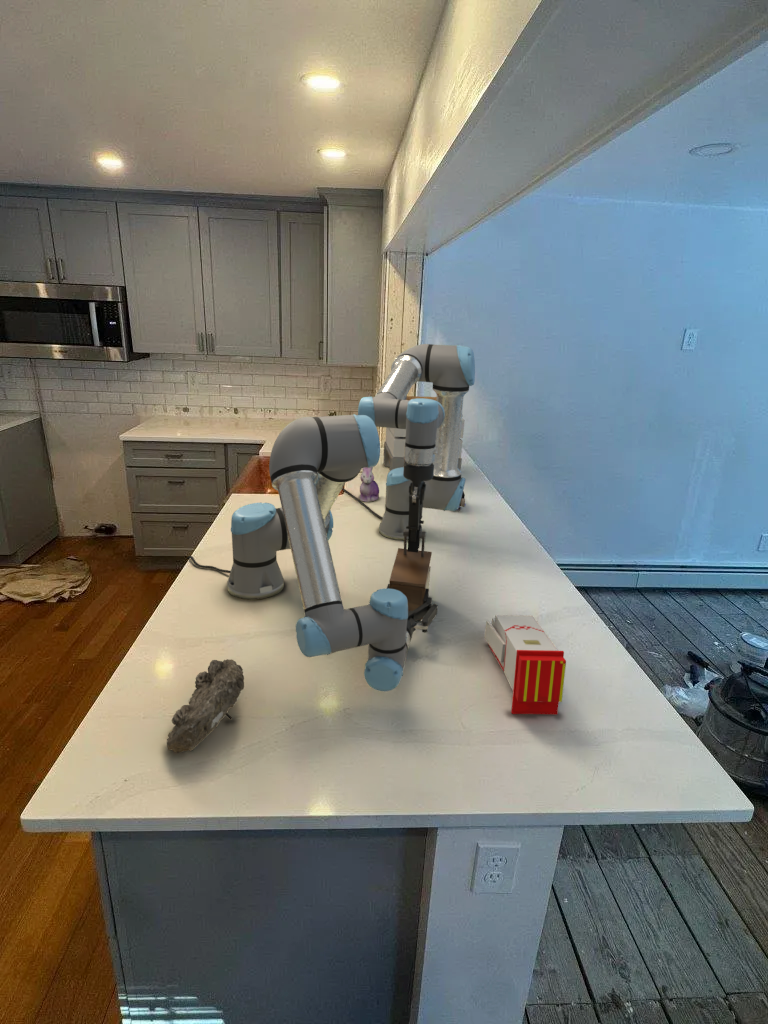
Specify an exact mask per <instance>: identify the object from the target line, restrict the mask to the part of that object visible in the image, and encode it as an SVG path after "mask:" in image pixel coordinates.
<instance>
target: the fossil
mask: <svg viewBox="0 0 768 1024" xmlns="http://www.w3.org/2000/svg"><path fill="white" fill-rule="evenodd" d="M243 670H244V669H243V667H242V665H240V664H237V662H236V661H235V660H234V659H232V658H231V659H227V658H226V659H224V660H223V661H222V660H217V659H212V660H211V661H210V663H209V665H208V666H207V671H201V672H199V673H198V674H197V675H196V676H195V680H194V684H195V685H194V687H195V689H194V690H193V693H192V694H191V697H190V698H189V700H188V704H184V705H182V706H181V707H180V709H177V710H176V711H175V713H174V715H173V716H172V718H171V723H172V724H173V727H172V730H171V731H170V732H168V734H167V738H166V741H167V742H166V745H167V749H168V750H169V751H173V752H174V753H176V754H178V753H182V752H188V751H189V752H192V751H193V750H195V748H196V747H197V746H199V744H200V743H201V742H203V741H204V740H205V739H206V738H207V737H208V736H209V735H210V734H211V733H212V732H214V730H215V729H217V727H218V726H219V724H220V722H221V721H222V720H223V719H224V718H225V716H226V717H227V719H229V720H233V717H232V715H230V714H229V710H230V709H231V708H234V706H235V704H236V703H237V702H238V699H239V697H240V695H241V693H242V691H243V690H245V689H244V688H245V675H244V671H243Z"/></svg>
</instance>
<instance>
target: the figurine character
mask: <svg viewBox="0 0 768 1024" xmlns="http://www.w3.org/2000/svg"><path fill="white" fill-rule="evenodd" d="M465 496H466V494H465V492H464V490H463V494H462V498H461V501H460V505H459V507H458V509H457V510H458V511H461V510H462V509H461V508H465V505H466V497H465Z"/></svg>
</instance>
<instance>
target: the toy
mask: <svg viewBox="0 0 768 1024" xmlns="http://www.w3.org/2000/svg"><path fill="white" fill-rule="evenodd" d="M494 615H495V616H494V617H491V622H490V620H485V621H486V622H485V630H484V640H485V641H486V642H487V646H488V647H489V649H490V651H491V652H492V654H493V656H494V657H495V659H496V661H497V663H498V665H499V667H500V668H501V670H502V671H503V674H504V676H505V678H506V680H507V682H508V684H509V686H510V689H511V690H512V701H511V712H510V713H511V714H512V715H556V716H558V715H559V714H558V713H559V705H560V703H562V702H563V695H564V694H563V693H564V686H565V685H564V683H565V677H566V676H565V675H566V667H567V666H566V665H567V660H566V658H564V656H565V651H564V650H559V649H558V648H557V646H556V645H555V644H554V642H553V641H552V640H551V638H550V637H549V636H548V634H547V633H546V631H544V629H543V628H542V626H541V625H540V623H539V622H538V620H536V618H535V617H534V615H531V614H530V615H527V614H526V615H523V614H519V615H518V614H494Z"/></svg>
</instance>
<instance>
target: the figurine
mask: <svg viewBox="0 0 768 1024" xmlns="http://www.w3.org/2000/svg"><path fill="white" fill-rule="evenodd" d="M373 468H374V467H370V468H367V467H366V468H362V469H361V470H362V473H361V475H360V481H361V484H360V486H359V496H358V499H359V500H360V501H362V502H364V503H365V502H366V503H368V502H375V501H376V500H378V499H379V495H380V488H379V485H378V482H377V481H375V475H374V473H373Z"/></svg>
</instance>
